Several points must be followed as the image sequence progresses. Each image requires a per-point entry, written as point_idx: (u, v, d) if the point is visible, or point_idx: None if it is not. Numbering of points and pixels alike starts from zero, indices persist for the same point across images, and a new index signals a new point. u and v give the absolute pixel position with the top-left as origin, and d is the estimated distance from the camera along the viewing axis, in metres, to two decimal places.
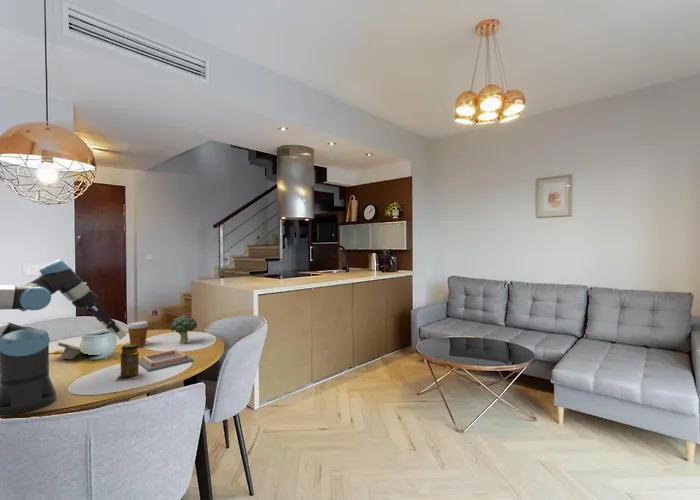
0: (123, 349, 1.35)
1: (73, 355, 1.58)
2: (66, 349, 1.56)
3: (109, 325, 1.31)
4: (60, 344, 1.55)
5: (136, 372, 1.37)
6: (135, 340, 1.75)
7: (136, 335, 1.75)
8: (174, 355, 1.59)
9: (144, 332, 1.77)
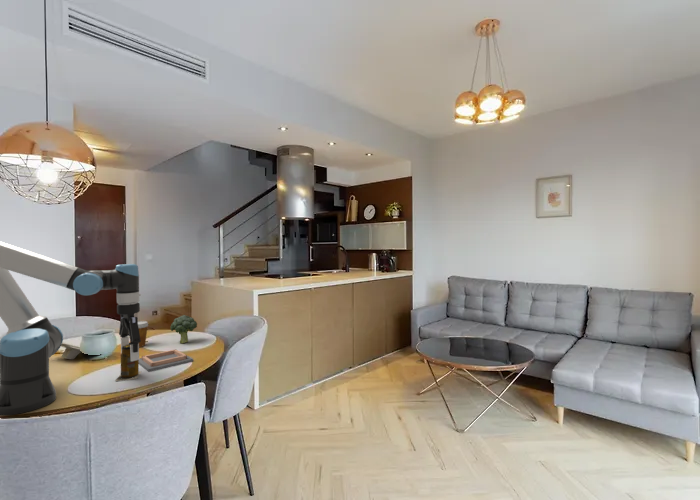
0: (123, 349, 1.35)
1: (74, 355, 1.58)
2: (67, 349, 1.56)
3: (134, 341, 1.29)
4: None
5: (136, 372, 1.37)
6: None
7: None
8: (174, 355, 1.59)
9: (144, 332, 1.77)
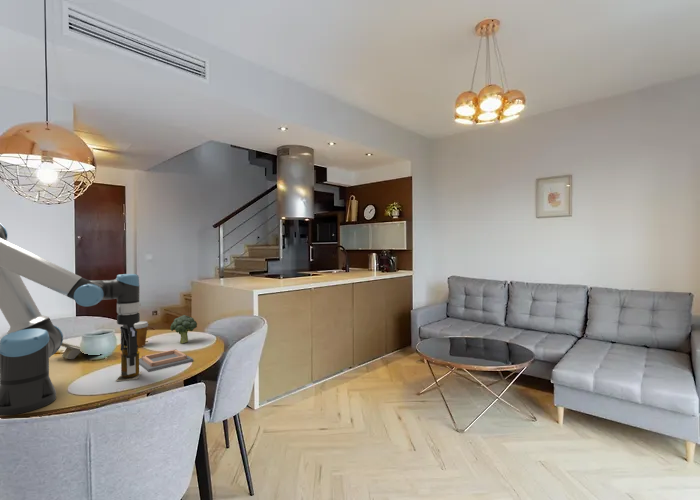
0: (124, 349, 1.34)
1: (74, 355, 1.58)
2: (67, 349, 1.56)
3: (131, 355, 1.31)
4: None
5: (137, 372, 1.36)
6: None
7: None
8: (174, 355, 1.59)
9: (144, 332, 1.77)
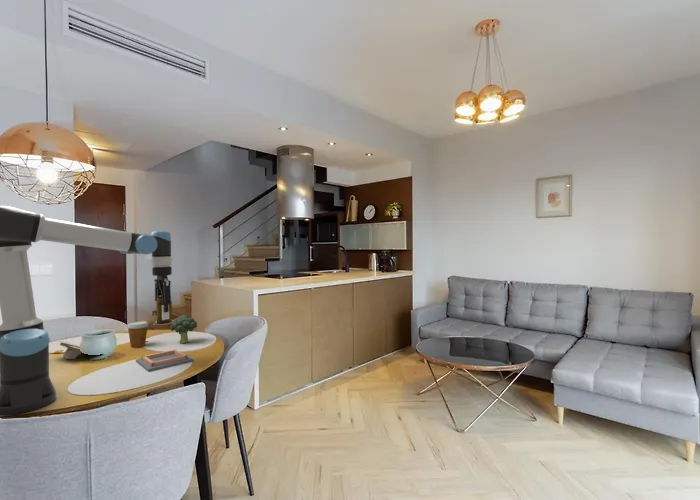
0: (158, 298, 1.51)
1: (75, 355, 1.58)
2: (68, 349, 1.56)
3: (165, 302, 1.47)
4: (62, 344, 1.55)
5: (170, 319, 1.53)
6: (135, 340, 1.75)
7: (136, 335, 1.75)
8: (174, 355, 1.59)
9: (144, 332, 1.77)
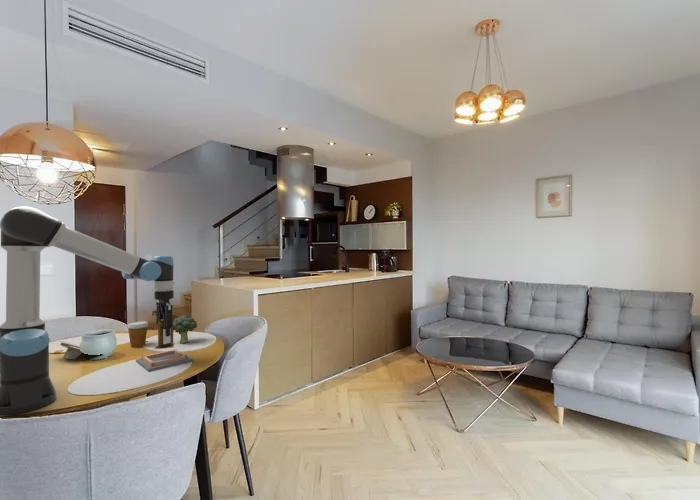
0: (160, 322, 1.52)
1: (75, 355, 1.57)
2: (68, 349, 1.56)
3: (167, 327, 1.49)
4: (63, 344, 1.55)
5: (171, 342, 1.54)
6: (135, 340, 1.75)
7: (136, 335, 1.75)
8: (174, 355, 1.59)
9: (144, 332, 1.77)
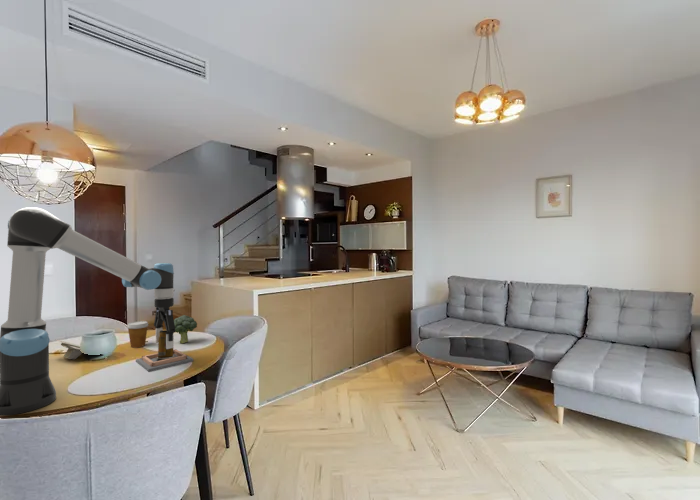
0: (161, 332, 1.54)
1: (76, 355, 1.57)
2: (69, 349, 1.56)
3: (170, 331, 1.46)
4: (63, 344, 1.55)
5: (171, 353, 1.54)
6: (135, 340, 1.75)
7: (136, 335, 1.75)
8: (174, 355, 1.59)
9: (144, 332, 1.77)
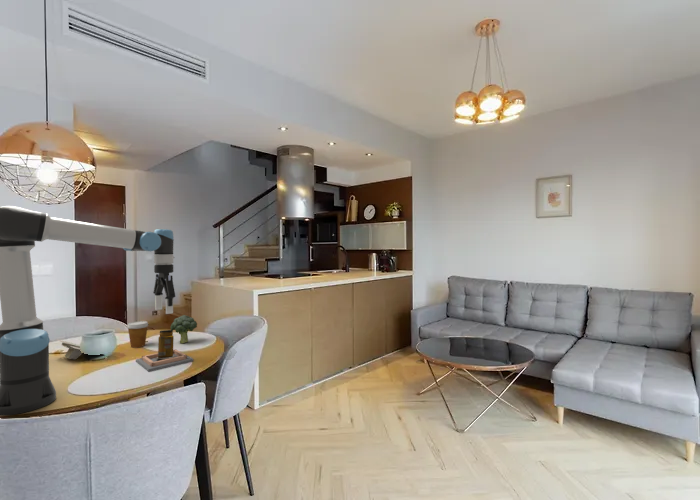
0: (161, 332, 1.54)
1: (76, 355, 1.57)
2: (70, 349, 1.56)
3: (170, 296, 1.46)
4: (64, 344, 1.55)
5: (171, 353, 1.54)
6: (135, 340, 1.75)
7: (136, 335, 1.75)
8: (174, 355, 1.59)
9: (144, 332, 1.77)
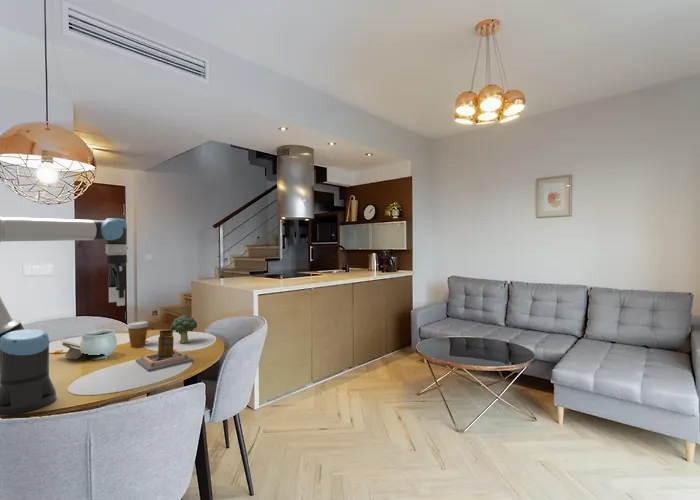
0: (161, 332, 1.54)
1: (77, 355, 1.57)
2: (70, 349, 1.56)
3: (120, 287, 1.41)
4: (64, 344, 1.55)
5: (171, 353, 1.54)
6: (135, 340, 1.75)
7: (136, 335, 1.75)
8: (174, 355, 1.59)
9: (144, 332, 1.77)
